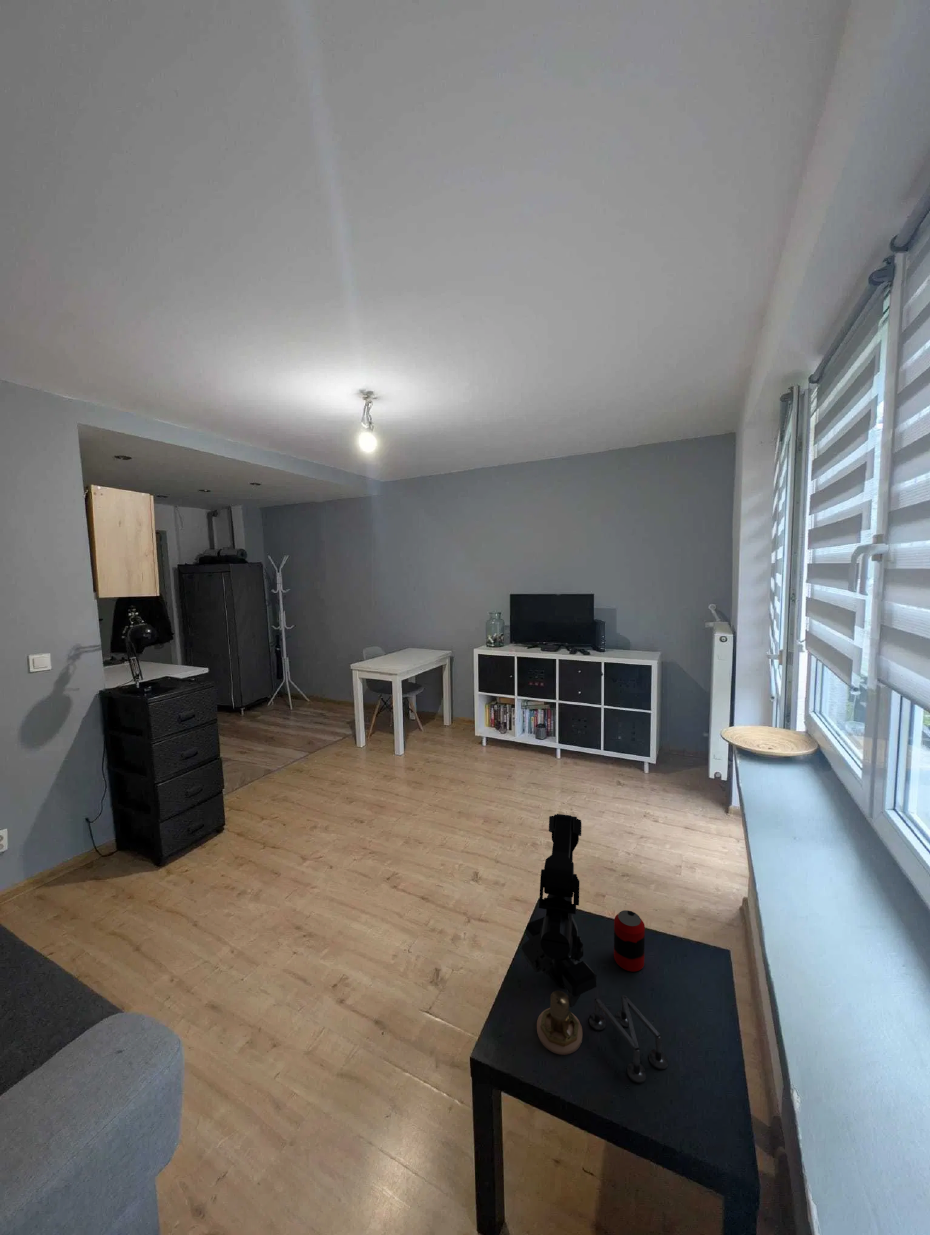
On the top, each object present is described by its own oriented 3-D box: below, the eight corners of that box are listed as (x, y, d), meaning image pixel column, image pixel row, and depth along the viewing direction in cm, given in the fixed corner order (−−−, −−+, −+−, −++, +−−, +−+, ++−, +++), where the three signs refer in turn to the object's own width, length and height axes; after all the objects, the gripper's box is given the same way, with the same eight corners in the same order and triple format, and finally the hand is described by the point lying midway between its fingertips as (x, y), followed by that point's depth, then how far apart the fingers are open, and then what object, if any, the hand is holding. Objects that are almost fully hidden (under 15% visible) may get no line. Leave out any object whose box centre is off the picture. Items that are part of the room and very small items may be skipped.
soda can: (646, 955, 124) (646, 913, 123) (641, 977, 118) (642, 932, 117) (616, 945, 128) (617, 904, 127) (611, 965, 121) (611, 922, 120)
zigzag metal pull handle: (585, 1019, 107) (585, 995, 106) (618, 1002, 111) (618, 980, 110) (636, 1086, 93) (636, 1059, 92) (671, 1064, 97) (671, 1038, 96)
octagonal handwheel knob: (534, 1019, 106) (534, 991, 105) (563, 1005, 109) (563, 977, 109) (555, 1051, 99) (555, 1021, 98) (585, 1035, 102) (585, 1006, 101)
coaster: (528, 1021, 107) (528, 1017, 106) (564, 1004, 111) (564, 1000, 111) (553, 1062, 97) (553, 1058, 97) (591, 1042, 102) (591, 1038, 101)
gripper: (505, 906, 107) (506, 969, 108) (553, 968, 90) (553, 1042, 91) (546, 892, 111) (546, 953, 113) (598, 948, 94) (598, 1018, 96)
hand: (559, 988), depth 103 cm, fingers open, 9 cm apart
